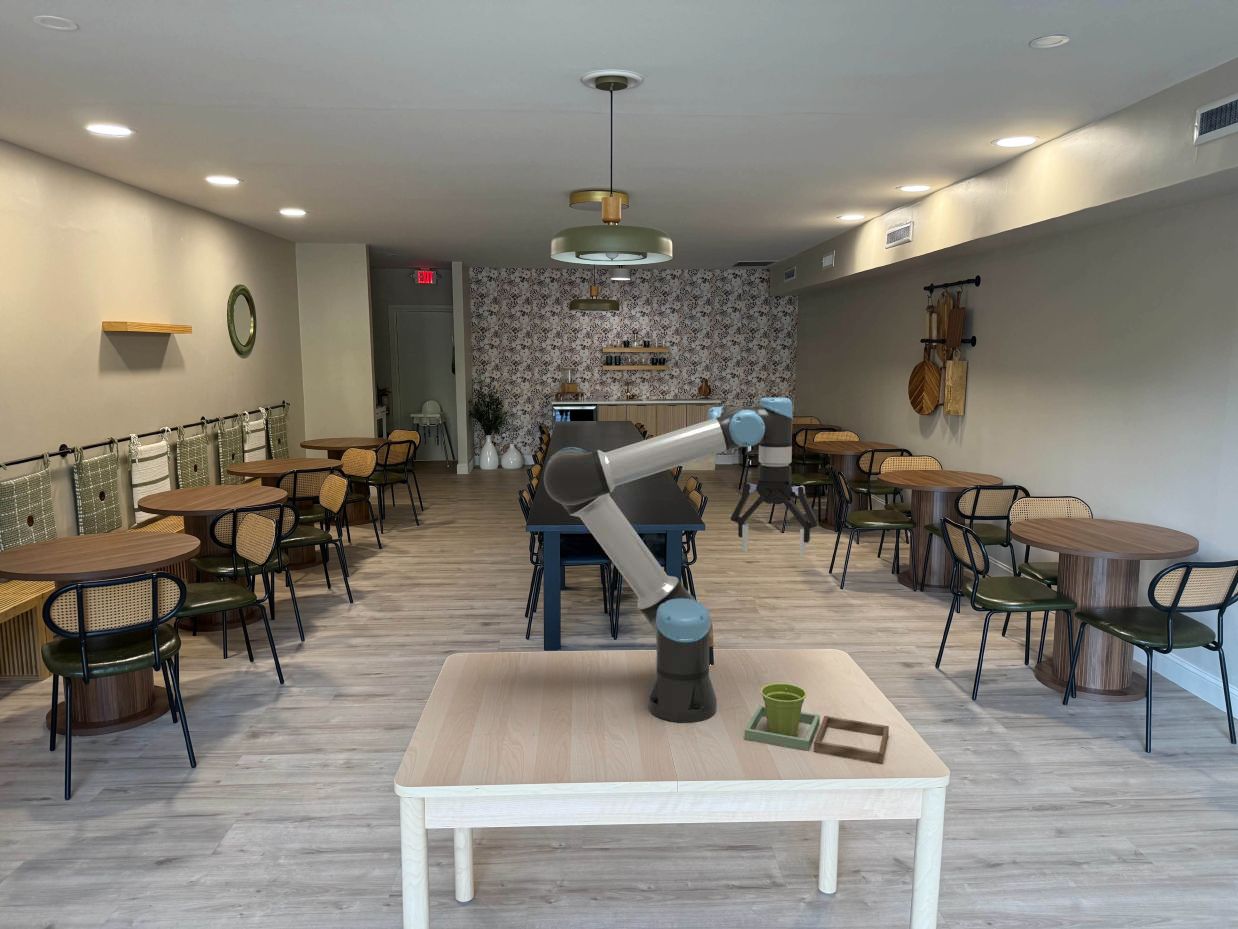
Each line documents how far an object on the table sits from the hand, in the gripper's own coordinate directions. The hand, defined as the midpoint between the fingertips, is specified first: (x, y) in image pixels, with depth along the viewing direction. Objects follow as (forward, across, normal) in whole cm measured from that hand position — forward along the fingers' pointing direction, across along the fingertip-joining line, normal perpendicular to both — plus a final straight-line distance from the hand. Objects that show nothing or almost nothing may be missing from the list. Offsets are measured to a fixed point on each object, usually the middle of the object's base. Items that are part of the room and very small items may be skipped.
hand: (773, 553), depth 190 cm
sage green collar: (+32, -8, +25) cm, 41 cm away
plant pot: (+32, -8, +25) cm, 41 cm away
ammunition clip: (+32, +21, -4) cm, 38 cm away
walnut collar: (+32, -22, +25) cm, 46 cm away
